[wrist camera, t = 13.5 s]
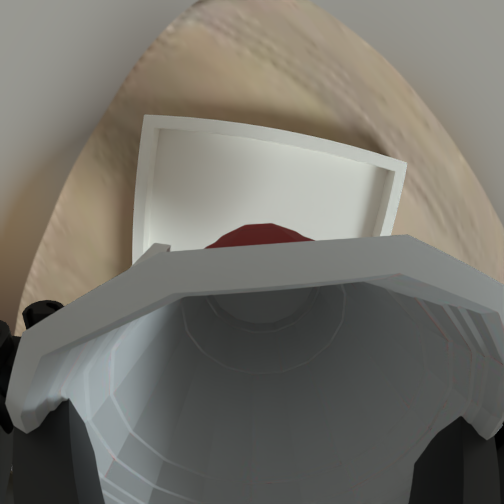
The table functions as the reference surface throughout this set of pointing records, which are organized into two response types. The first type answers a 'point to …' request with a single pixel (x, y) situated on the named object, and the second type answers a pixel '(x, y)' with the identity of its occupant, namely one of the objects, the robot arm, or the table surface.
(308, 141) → the tray
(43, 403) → the plastic cup
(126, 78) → the table surface
